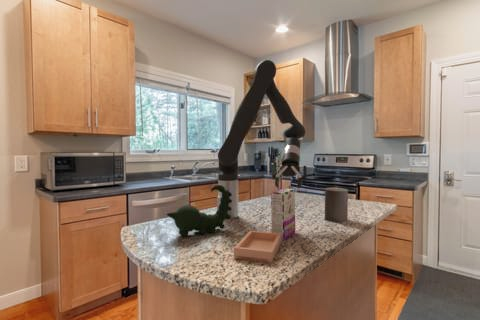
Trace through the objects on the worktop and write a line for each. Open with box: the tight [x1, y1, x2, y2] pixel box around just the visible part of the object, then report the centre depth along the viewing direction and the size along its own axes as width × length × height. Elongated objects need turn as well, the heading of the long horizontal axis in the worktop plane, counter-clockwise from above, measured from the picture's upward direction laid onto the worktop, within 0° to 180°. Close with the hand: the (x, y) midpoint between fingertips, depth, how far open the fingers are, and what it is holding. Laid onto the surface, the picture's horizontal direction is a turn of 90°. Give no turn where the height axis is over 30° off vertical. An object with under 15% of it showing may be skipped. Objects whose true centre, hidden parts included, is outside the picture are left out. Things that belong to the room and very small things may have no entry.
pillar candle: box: [324, 187, 349, 223], centre depth 117 cm, size 10×10×15 cm
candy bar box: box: [270, 188, 296, 242], centre depth 95 cm, size 11×5×16 cm, turn 148°
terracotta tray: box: [233, 230, 283, 263], centre depth 82 cm, size 11×17×3 cm, turn 162°
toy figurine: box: [166, 184, 232, 238], centre depth 99 cm, size 9×19×25 cm
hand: (287, 186), depth 106 cm, fingers open, 8 cm apart
